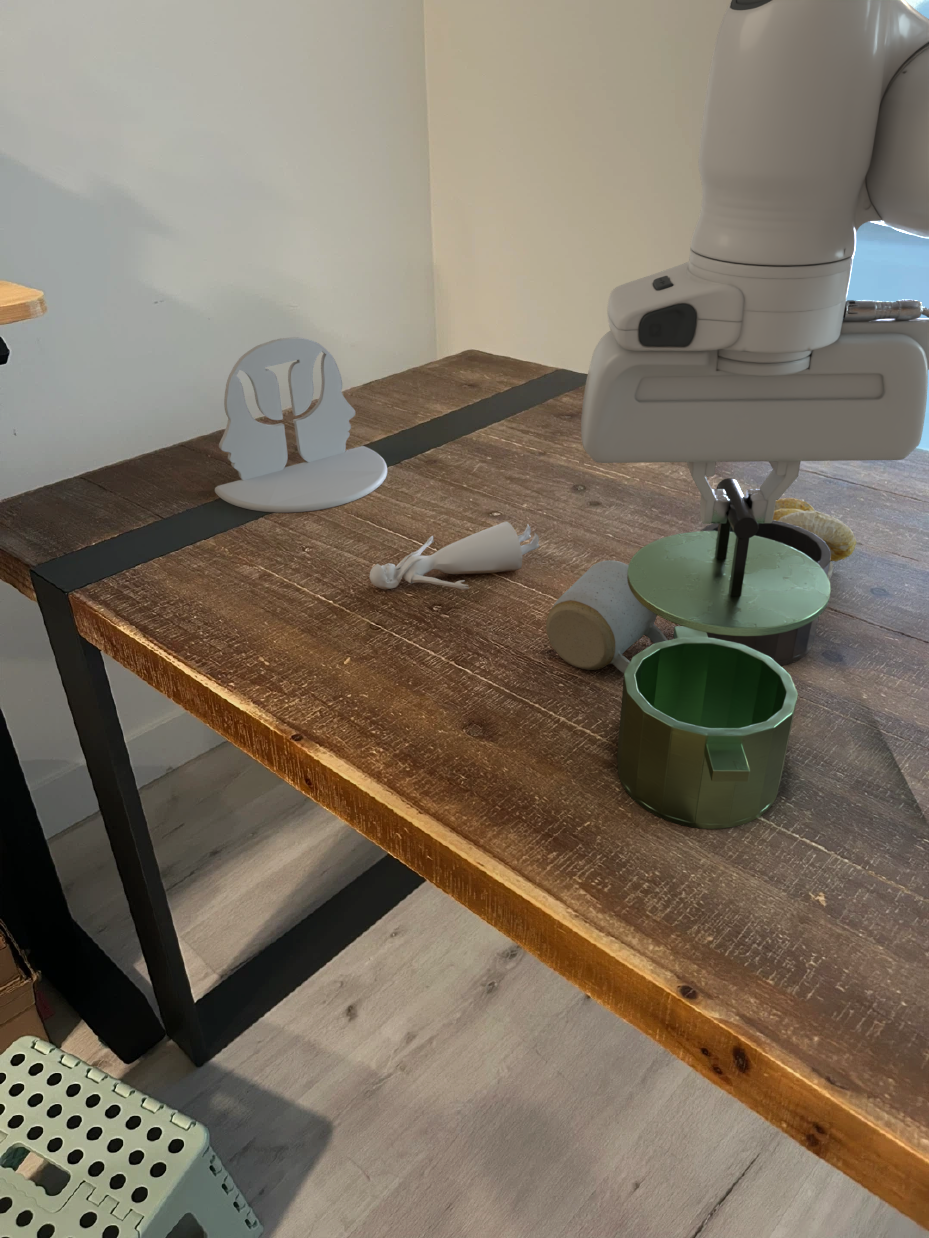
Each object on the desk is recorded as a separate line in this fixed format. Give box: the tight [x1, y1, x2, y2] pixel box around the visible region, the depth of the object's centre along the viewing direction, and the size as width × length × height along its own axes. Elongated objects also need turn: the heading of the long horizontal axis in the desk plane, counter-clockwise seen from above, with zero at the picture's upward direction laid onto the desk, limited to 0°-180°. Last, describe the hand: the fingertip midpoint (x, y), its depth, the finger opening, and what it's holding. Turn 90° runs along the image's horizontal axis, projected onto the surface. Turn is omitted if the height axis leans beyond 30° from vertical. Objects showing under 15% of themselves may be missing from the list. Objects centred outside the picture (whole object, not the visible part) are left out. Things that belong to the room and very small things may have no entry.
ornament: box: [214, 336, 388, 514], centre depth 117 cm, size 22×13×17 cm, turn 126°
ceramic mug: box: [545, 560, 668, 674], centre depth 86 cm, size 11×8×8 cm
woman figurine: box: [369, 521, 540, 591], centre depth 101 cm, size 12×4×18 cm
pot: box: [616, 625, 799, 830], centre depth 72 cm, size 12×17×8 cm
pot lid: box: [627, 477, 832, 636], centre depth 64 cm, size 13×13×7 cm
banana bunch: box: [773, 497, 857, 580], centre depth 102 cm, size 10×6×15 cm
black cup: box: [700, 520, 831, 667], centre depth 89 cm, size 12×12×9 cm
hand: (734, 520), depth 63 cm, fingers closed on pot lid
